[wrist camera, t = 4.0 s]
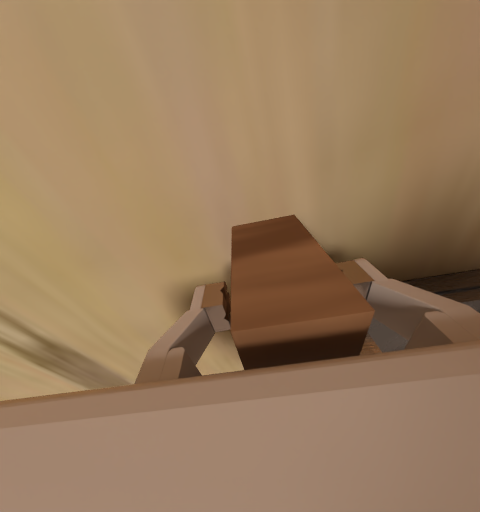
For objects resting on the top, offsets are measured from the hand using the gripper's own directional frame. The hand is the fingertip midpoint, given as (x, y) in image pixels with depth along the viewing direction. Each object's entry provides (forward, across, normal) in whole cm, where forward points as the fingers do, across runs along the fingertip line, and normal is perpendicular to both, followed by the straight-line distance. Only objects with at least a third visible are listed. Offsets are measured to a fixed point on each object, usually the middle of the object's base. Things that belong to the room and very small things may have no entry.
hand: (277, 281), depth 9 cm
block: (+4, 0, 0) cm, 4 cm away
